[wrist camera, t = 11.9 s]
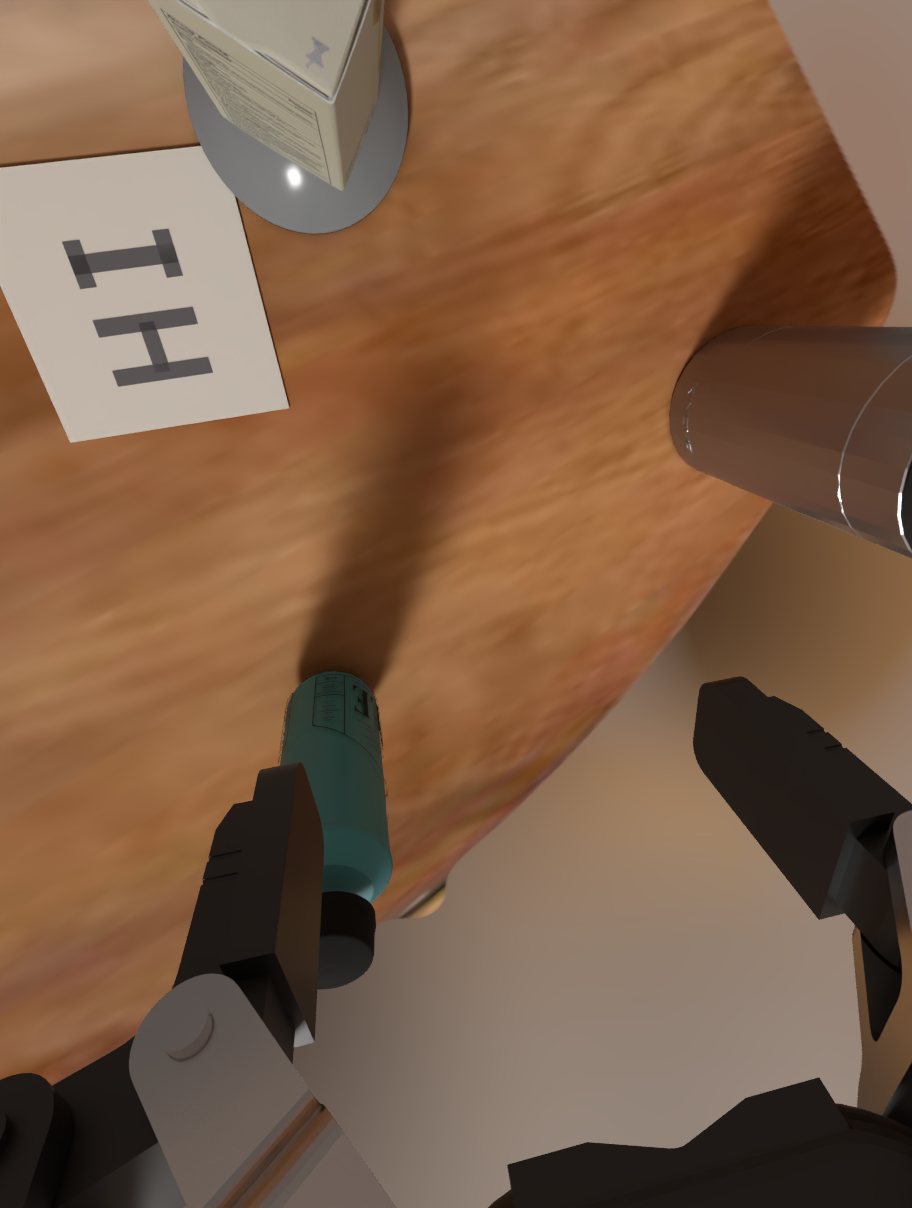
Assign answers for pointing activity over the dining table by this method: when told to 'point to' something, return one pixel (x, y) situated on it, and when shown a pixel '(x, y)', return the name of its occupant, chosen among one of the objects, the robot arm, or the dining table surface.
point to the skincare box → (287, 72)
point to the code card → (136, 292)
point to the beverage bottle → (343, 813)
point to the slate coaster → (291, 189)
